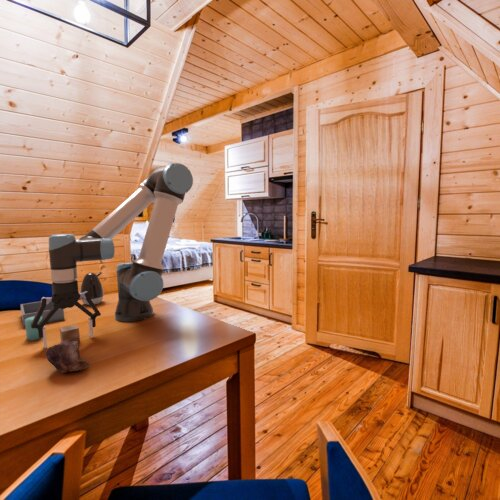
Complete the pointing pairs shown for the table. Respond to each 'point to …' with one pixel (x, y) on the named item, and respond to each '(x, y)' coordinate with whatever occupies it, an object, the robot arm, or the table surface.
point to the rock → (66, 356)
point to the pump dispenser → (92, 288)
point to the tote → (32, 309)
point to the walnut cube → (69, 333)
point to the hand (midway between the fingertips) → (69, 341)
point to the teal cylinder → (31, 329)
